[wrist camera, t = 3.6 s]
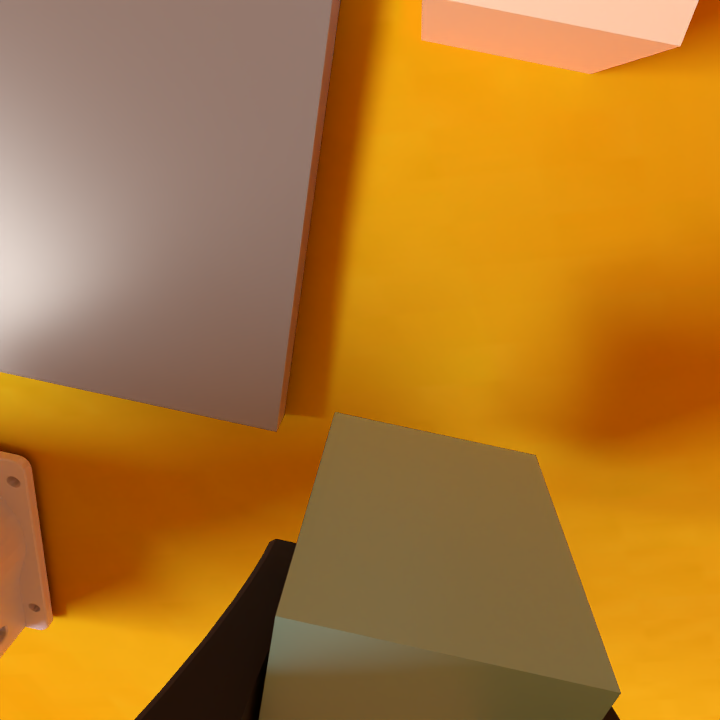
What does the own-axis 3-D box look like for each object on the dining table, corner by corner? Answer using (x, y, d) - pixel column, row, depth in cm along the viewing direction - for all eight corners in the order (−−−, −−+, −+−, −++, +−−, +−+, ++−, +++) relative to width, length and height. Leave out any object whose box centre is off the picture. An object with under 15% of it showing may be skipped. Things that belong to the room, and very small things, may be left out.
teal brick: (454, 648, 12) (472, 906, 8) (296, 612, 12) (237, 851, 8) (535, 455, 10) (620, 692, 6) (334, 412, 10) (275, 616, 6)
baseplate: (284, 415, 16) (276, 431, 15) (-122, 327, 17) (-153, 338, 16) (431, -671, 8) (433, -775, 7) (-434, -820, 8) (-544, -942, 7)
